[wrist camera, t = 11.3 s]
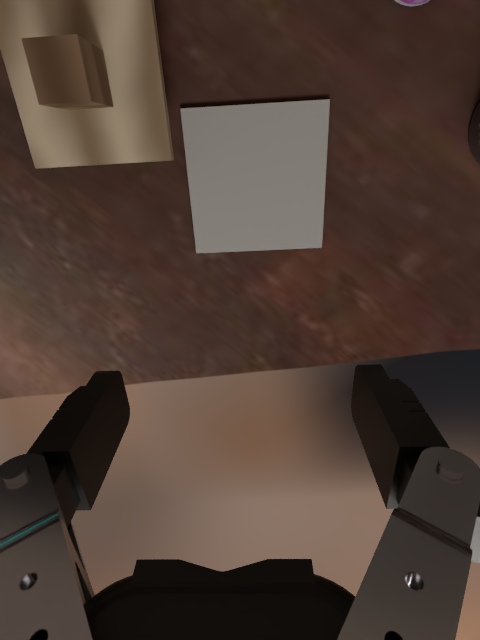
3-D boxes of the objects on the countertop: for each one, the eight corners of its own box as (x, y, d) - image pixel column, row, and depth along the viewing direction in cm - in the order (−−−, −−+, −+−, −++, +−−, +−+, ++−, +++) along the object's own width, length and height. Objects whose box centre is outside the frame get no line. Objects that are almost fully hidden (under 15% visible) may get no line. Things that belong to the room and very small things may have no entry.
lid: (150, -22, 28) (127, -61, 22) (173, 159, 34) (159, 163, 28) (-10, -9, 28) (-70, -44, 23) (40, 167, 34) (2, 172, 29)
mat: (329, 99, 35) (329, 99, 35) (321, 246, 42) (321, 247, 42) (180, 108, 36) (180, 108, 36) (196, 252, 43) (196, 253, 42)
